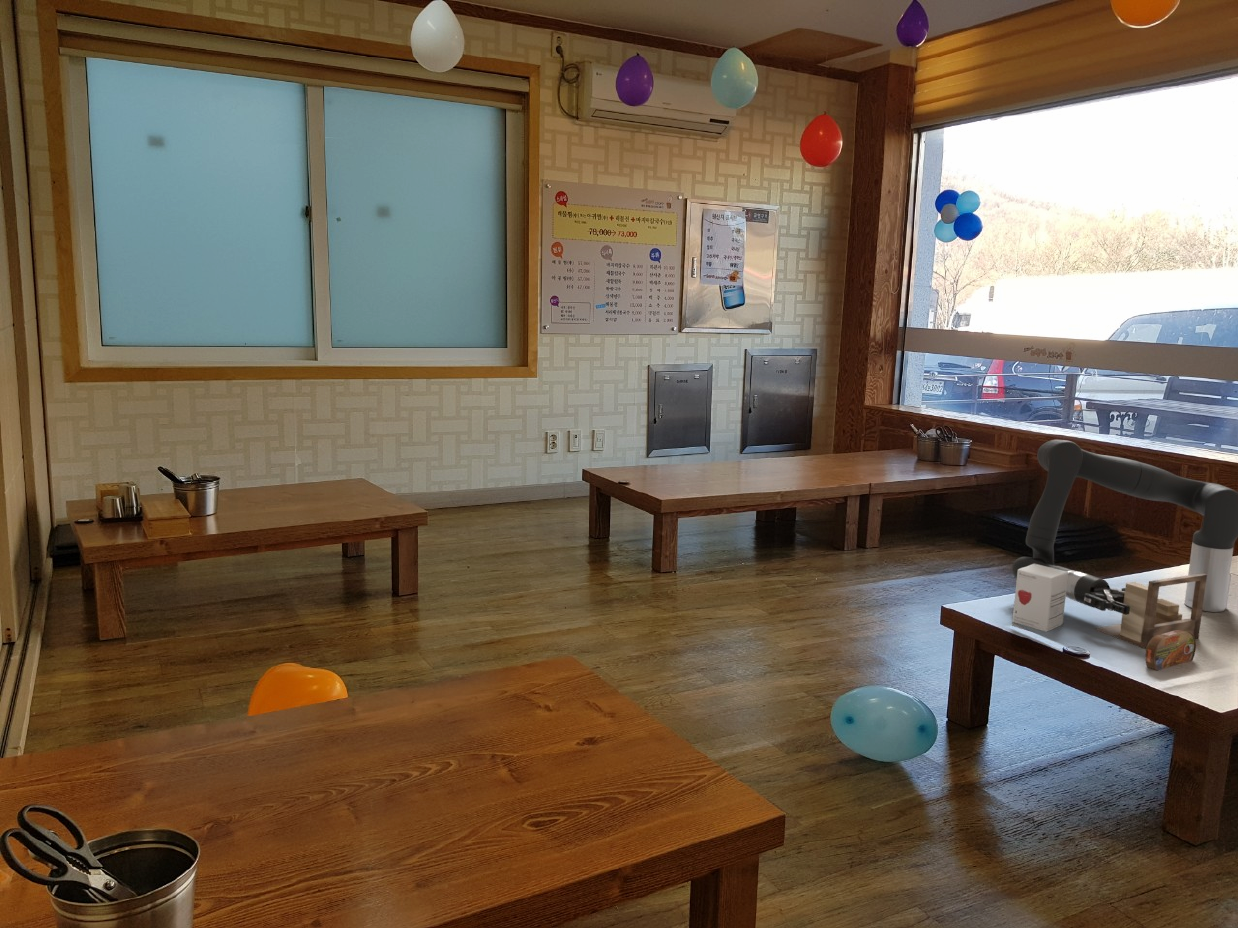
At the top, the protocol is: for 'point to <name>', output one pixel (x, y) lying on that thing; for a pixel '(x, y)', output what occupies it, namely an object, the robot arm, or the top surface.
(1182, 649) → the tin
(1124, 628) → the pale wooden block
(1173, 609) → the offcut top
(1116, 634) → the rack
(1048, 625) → the supplement box
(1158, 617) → the offcut mid
